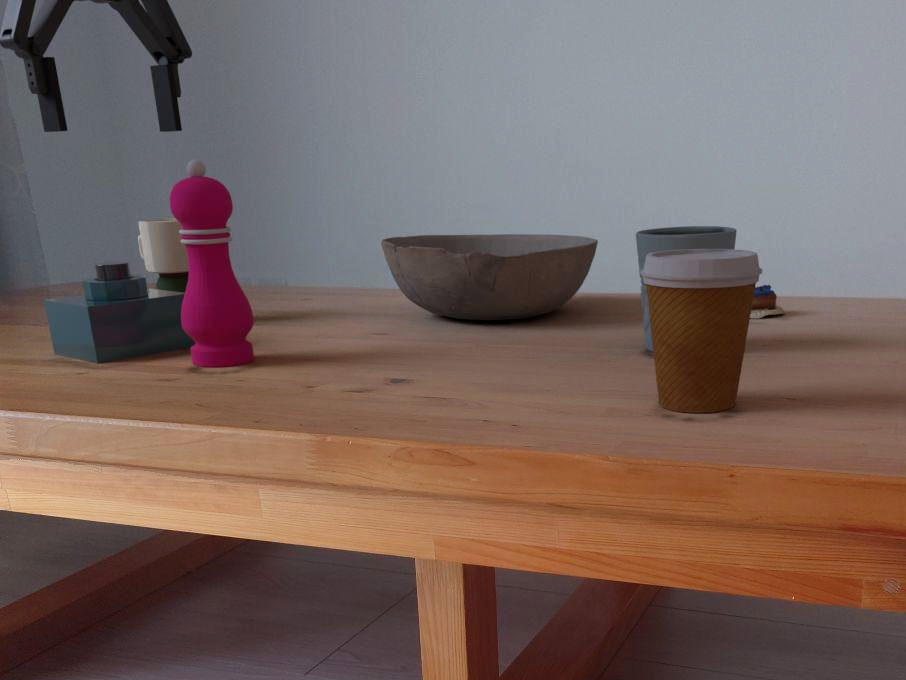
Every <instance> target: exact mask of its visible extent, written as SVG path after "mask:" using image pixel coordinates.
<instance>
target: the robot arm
mask: <svg viewBox="0 0 906 680" xmlns="http://www.w3.org/2000/svg"><path fill="white" fill-rule="evenodd" d="M75 1H76V2H85V1H87V0H43V2H42V4H41V5H40V7H39V9H38V11H37V13H36V14H35V17H34V18H33V15H34V11H35V7H36V2H37V0H7V3H6V7H5V10H4V11H5V12H4V15H3V19H2V24H1V29H0V46H1V47H2V48H3V49H5V50H11V51H13V52H14V55H15V56H16V57H17V58H19V59H23V64H24V70H25V75H26V80H27V85H28V89H29V91H30V93H31V94H32V95H37V96H36V97H37V101H38V106H39V110H40V117H41V123H42V126H43V132H44V133H55V132H58V133H59V132H68V131H69V130H68V124H67V118H66V114H65V113H66V112H65V109H64V108H65V107H64V103H63V98H62V92H61V86H60V81H59V77H58V71H57V64H56V58H55V56H44V55H45V54H46V52H47V50H48V48H49V47H50V44H51V43H52V41H53V39H54V37H55V36H56V34H57V32H58V31H59V28H60V26H61V25H62V22H63V21H64V19H65V17H66V15H67V14H68V12H69V10H70V8H71V6H72V4H73V3H74V2H75ZM89 1H90V2H93V3H94V4H101V5H103V4H107V5H109V6H110V8H112V9H113V10H115V11H116V12H117V13H118V14H119V15H120V17H121V18H122V19H123V20H124V22H125V23H126V24H127V26H128V27H129V28H130V30H131V31H132V33H134V35H135V36H136V38H137V39H138V40H139V42H140V44H142V45H143V47H144V48H145V49H146V50H147V52H148V53H149V55H150V56H151V57H152V59H153V60H154V61H155V62H156V64H155V65H150V67H149V68H150V73H151V80H152V87H153V94H154V101H155V107H156V114H157V120H158V126H159V132H161V133H165V132H166V133H168V132H169V133H170V132H183V128H182V123H181V122H182V121H181V114H180V106H179V101H178V98H181V96H182V95H181V94H182V87H181V83H180V74H179V67H178V66H179V64H183V63H184V62H185V60H186V59H191V58H192V56H193V51H192V48H191V46H190V44H189V41H188V40H187V38H186V36H185V33H184V32H183V30H182V27H181V26H180V24H179V22H178V20H177V18H176V15H175V13H174V11H173V9H172V8H171V5H170V3H169V1H168V0H89ZM141 3H142V4H141ZM32 19H33V20H32Z"/></svg>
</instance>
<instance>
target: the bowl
mask: <svg viewBox="0 0 906 680" xmlns="http://www.w3.org/2000/svg"><path fill="white" fill-rule="evenodd" d="M598 243H599V241H598V239H595V238H591V237H587V236H582V235H566V234H535V233H534V234H533V233H532V234H530V233H529V234H528V233H525V234H524V233H523V234H522V233H521V234H519V233H518V234H517V233H509V234H508V233H507V234H505V233H504V234H503V233H502V234H501V233H499V234H423V235H422V234H420V235H408V236H393V237H388V238H384V239H382V240H381V241H380V245H381V248H382V252H383V254H384V258H385V261H386V263H387V266H388V269H389V271H390V273H391V276H392V277H393V278H392V279H393V280H394V282H395V284H396V286H397V287H398V288H399V290H400V292H401V293H402V294H403V295H404V296H405V297H406V298H407V299H408V300H409V301H410V302H411V303H413V304H414V305H416V306H418V307H419V308H421V309H423V310H424V311H426V312H429V313H431V314H434V315H438V316H443V317H446V318H447V317H448V318H453V319H461V320H472V321H507V320H509V321H510V320H520V319H526V318H532V317H537V316H539V315H544V314H548V313H550V312H553V311H555V310H558V309H559V308H561V307H563V306H564V305H565V304H566V303H567V302H569V301H570V300H572V298H573V297H574V296H575V295H576V293H578V291H579V290H580V288H581V287H582V286H583V284H584V282H585V280H586V278H587V276H588V275H589V272H590V269H591V266H592V263H593V261H594V259H595V255H596V251H597V247H598Z"/></svg>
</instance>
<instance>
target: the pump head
mask: <svg viewBox="0 0 906 680" xmlns="http://www.w3.org/2000/svg"><path fill="white" fill-rule="evenodd" d="M93 266H94V271H95V277H97V281H109V280H122V279H130V278H132V277H131V275H132V272H131V265H130V262H129V261H104V262H97V263H94V264H93Z"/></svg>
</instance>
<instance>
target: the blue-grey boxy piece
mask: <svg viewBox="0 0 906 680" xmlns="http://www.w3.org/2000/svg"><path fill="white" fill-rule="evenodd" d="M131 277H132V278H130V279H122V280H109V281H97V277H96V276H94V277H89V278H88V277H87V278H84V279H82V281H81V282H82V287H83V293H84V294H82V295H75V296H66V297H65V296H64V297H58V298H50V299H43V303H44V308H45V313H46V319H47V324H48V328H49V333H50V338H51V344H52V348H53V353H54V355H57V356H60V357H61V356H62V357H66V358H70V359H75V360H80V361H84V362H89V363H93V364H98V365H99V364H104V363H110V362H115V361H122V360H128V359H133V358H139V357H144V356H149V355H156V354H161V353H167V352H173V351H179V350H184V349H190V348H191V347H192V346H194V345H195V344H196V343H195V341H194V340H193V339H192V338H191V337H190V336H189V335H188V334H187V333H186V332H185V331H184V330H183V328H182V323H181V309H182V302H183V299H184V295H185V293H183V292H175V291H166V290H158V289H156V288H149V287H148V282H147V276H146V275H145V274H143V275H142V274H131Z"/></svg>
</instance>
